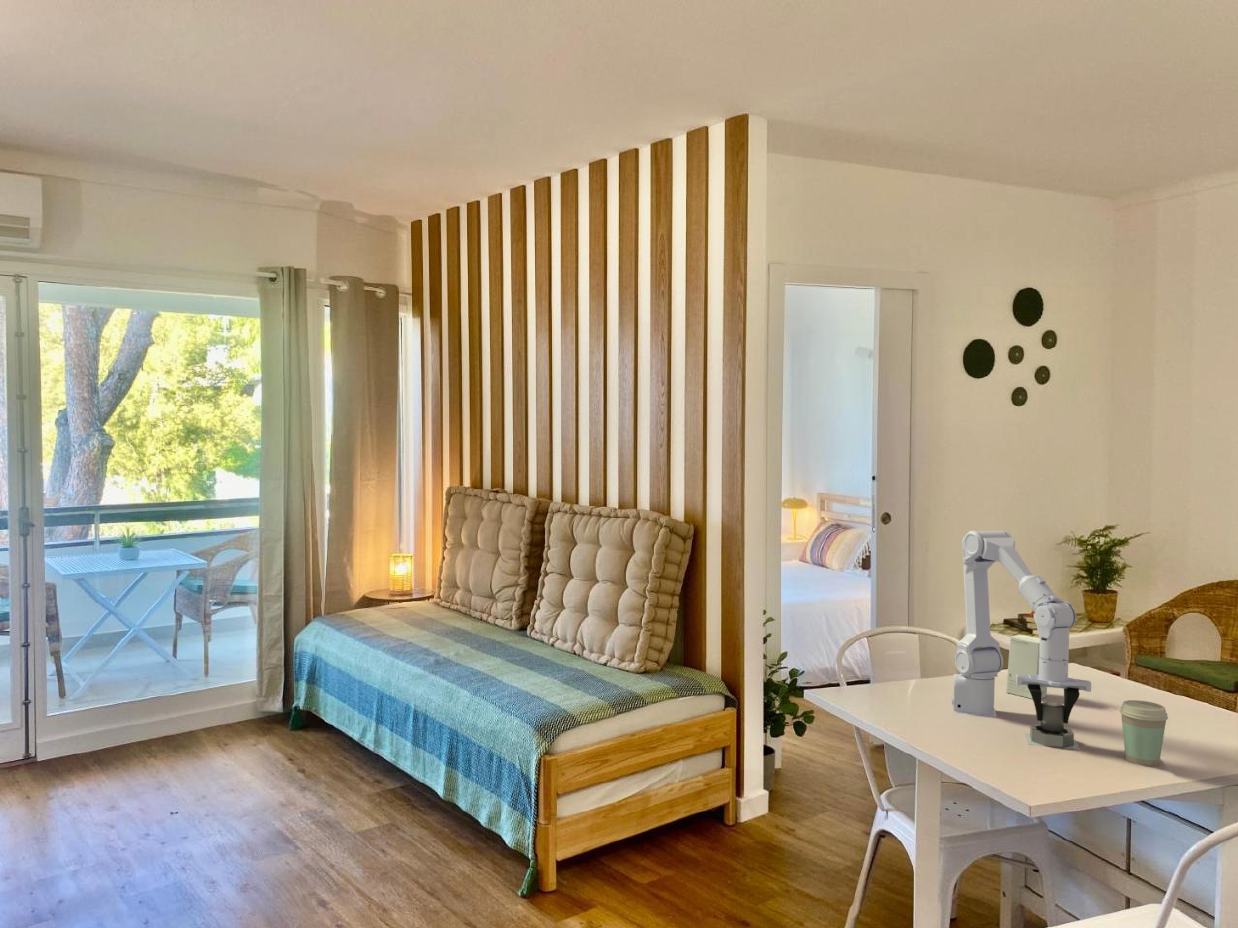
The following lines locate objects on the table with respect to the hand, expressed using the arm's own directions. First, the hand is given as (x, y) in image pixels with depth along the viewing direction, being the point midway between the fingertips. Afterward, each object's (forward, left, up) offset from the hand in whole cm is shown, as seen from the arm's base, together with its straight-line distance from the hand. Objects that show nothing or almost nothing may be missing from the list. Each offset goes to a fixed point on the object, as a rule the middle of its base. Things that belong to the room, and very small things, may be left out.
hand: (1052, 720), depth 200 cm
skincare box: (-1, +41, -5) cm, 41 cm away
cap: (0, 0, -2) cm, 2 cm away
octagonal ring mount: (0, 0, -4) cm, 4 cm away
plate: (0, 0, -5) cm, 5 cm away
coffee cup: (+16, -7, -5) cm, 18 cm away
